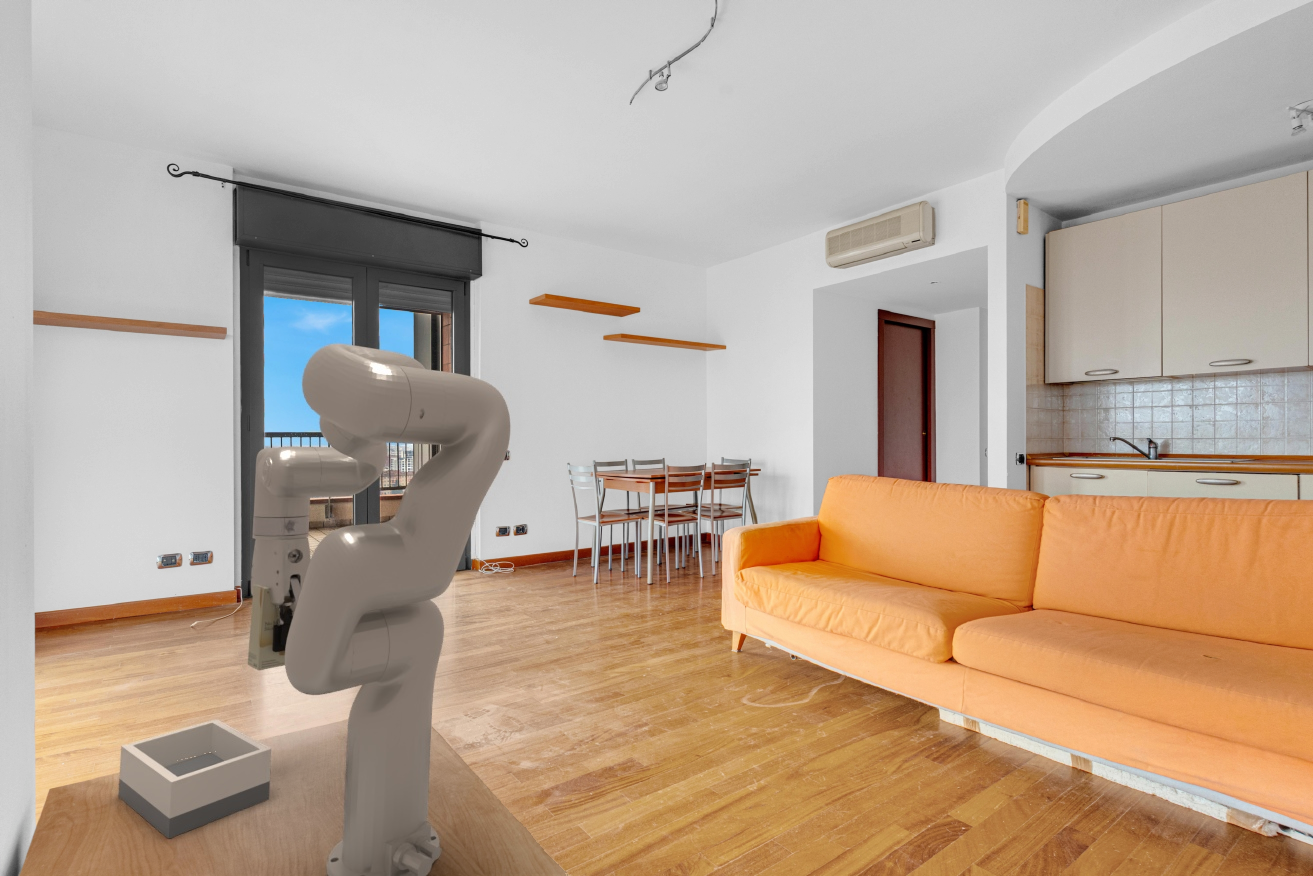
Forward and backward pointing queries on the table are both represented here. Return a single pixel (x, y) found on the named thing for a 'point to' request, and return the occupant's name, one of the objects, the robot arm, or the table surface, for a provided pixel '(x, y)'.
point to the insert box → (193, 776)
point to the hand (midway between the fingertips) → (275, 645)
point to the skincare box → (263, 631)
